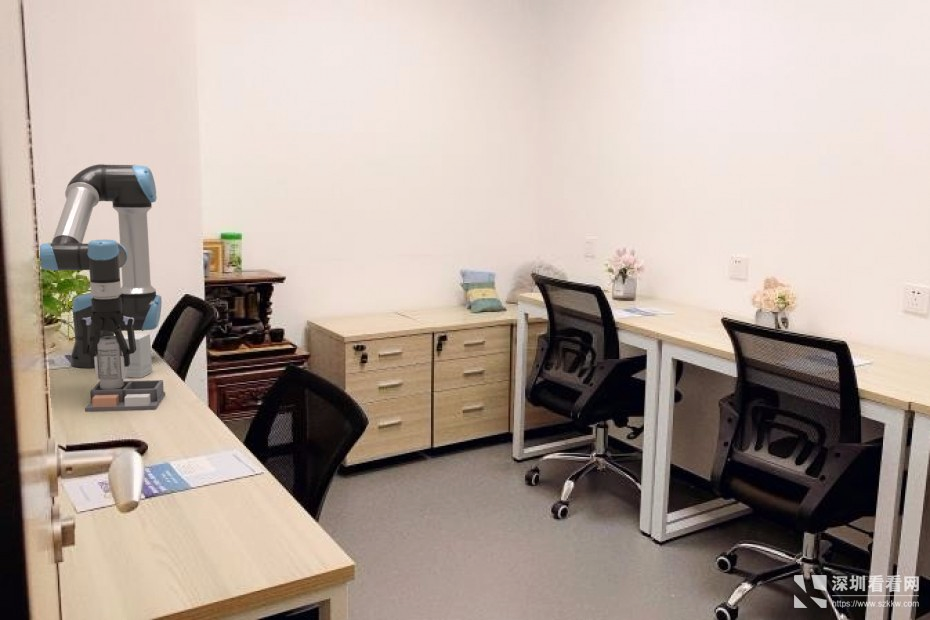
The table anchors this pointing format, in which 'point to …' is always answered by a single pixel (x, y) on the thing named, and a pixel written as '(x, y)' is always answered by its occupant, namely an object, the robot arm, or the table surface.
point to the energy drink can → (109, 363)
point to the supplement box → (140, 357)
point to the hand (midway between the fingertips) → (111, 377)
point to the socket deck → (130, 390)
